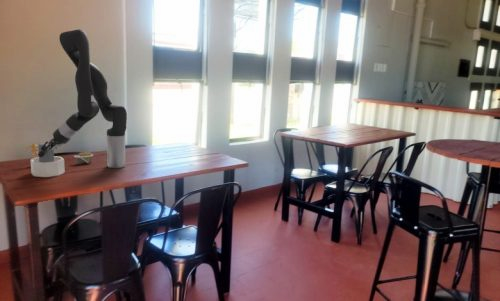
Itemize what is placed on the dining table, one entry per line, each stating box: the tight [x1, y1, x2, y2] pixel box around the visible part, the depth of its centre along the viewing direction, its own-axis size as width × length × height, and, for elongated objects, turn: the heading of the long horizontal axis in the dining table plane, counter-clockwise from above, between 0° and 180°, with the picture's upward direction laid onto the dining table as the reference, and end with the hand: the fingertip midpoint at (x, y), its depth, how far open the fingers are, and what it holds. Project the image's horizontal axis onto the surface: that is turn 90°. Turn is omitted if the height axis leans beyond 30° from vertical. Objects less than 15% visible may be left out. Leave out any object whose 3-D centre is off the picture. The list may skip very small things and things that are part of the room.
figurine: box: [25, 142, 39, 159], centre depth 199 cm, size 8×6×12 cm
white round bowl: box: [30, 155, 66, 178], centre depth 188 cm, size 14×14×7 cm
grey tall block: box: [38, 142, 55, 162], centre depth 185 cm, size 5×5×10 cm
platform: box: [73, 151, 94, 165], centre depth 210 cm, size 12×18×7 cm, turn 133°
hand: (42, 154), depth 186 cm, fingers closed on grey tall block, 4 cm apart
